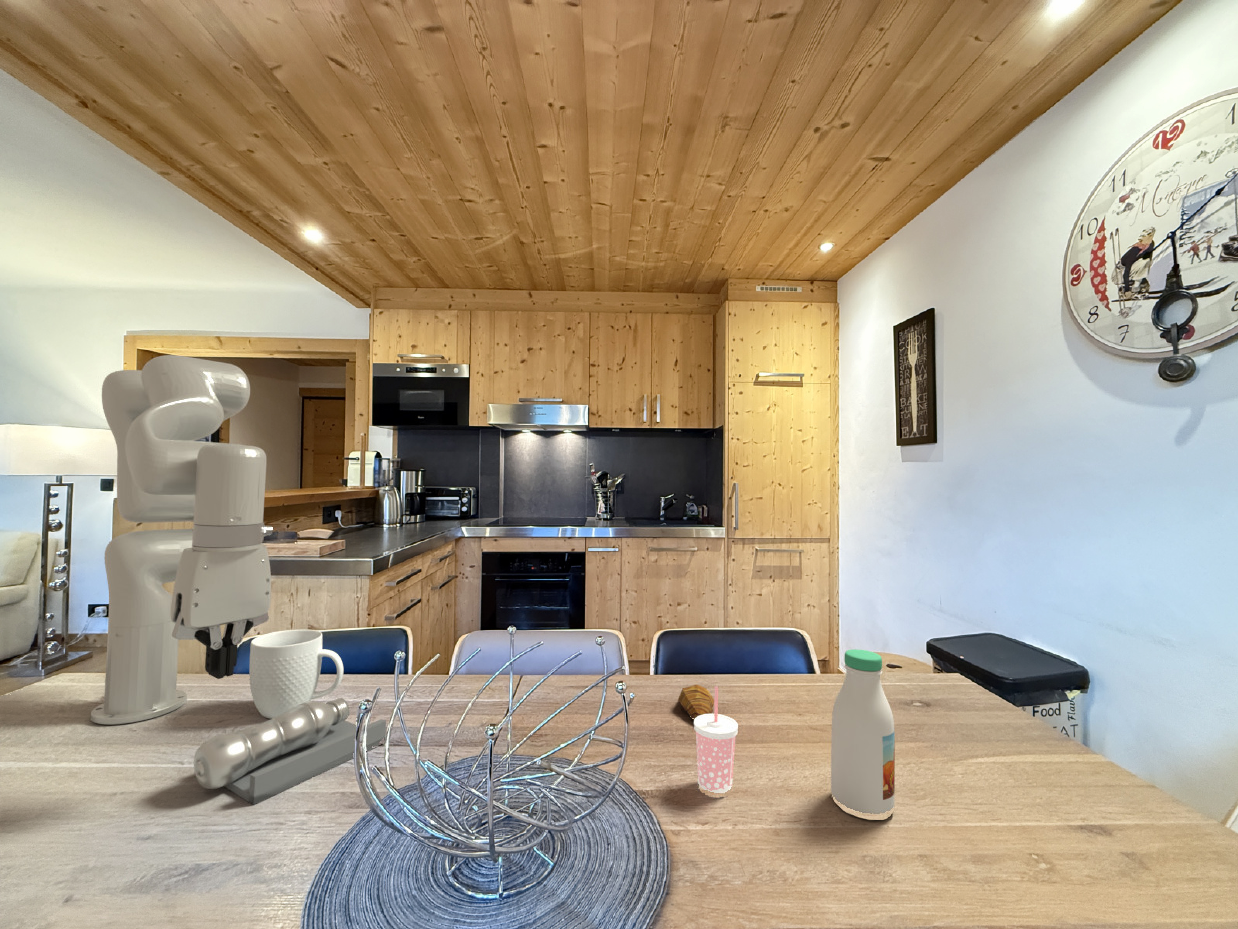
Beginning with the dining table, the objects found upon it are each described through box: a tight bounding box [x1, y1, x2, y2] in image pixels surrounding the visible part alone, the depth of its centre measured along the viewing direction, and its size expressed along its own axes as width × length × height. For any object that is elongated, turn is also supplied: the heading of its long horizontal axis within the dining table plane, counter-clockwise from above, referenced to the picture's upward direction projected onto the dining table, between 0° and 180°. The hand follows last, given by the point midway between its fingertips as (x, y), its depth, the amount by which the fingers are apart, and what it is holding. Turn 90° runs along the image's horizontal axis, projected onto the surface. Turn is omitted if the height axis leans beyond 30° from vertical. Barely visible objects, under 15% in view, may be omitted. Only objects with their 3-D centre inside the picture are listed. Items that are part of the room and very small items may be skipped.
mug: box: [248, 628, 344, 720], centre depth 95 cm, size 15×11×13 cm
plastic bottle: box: [193, 697, 350, 790], centre depth 78 cm, size 6×7×20 cm
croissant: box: [677, 684, 715, 719], centre depth 99 cm, size 14×7×5 cm, turn 2°
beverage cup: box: [693, 685, 739, 793], centre depth 74 cm, size 6×6×14 cm
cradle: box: [223, 719, 387, 806], centre depth 79 cm, size 12×19×4 cm, turn 150°
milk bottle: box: [830, 649, 896, 814], centre depth 71 cm, size 8×8×20 cm
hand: (220, 674), depth 70 cm, fingers closed
